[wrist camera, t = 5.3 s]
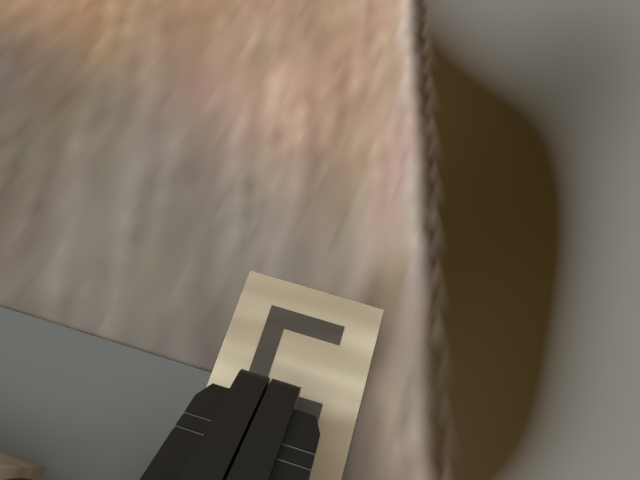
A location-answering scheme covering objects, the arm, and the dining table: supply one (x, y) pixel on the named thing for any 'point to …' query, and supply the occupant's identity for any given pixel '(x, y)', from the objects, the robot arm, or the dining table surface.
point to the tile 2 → (305, 356)
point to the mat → (86, 400)
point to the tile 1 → (18, 468)
